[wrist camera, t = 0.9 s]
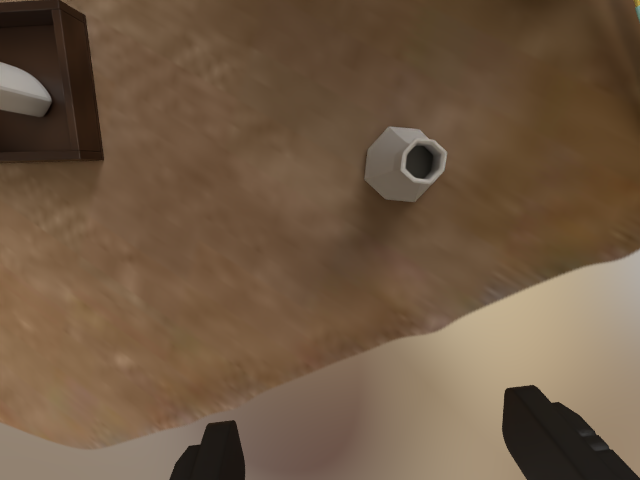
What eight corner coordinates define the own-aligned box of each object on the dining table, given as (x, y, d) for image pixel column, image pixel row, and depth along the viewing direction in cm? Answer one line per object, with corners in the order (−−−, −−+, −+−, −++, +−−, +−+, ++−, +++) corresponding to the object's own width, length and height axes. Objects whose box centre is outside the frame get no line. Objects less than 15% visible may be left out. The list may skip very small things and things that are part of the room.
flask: (351, 184, 35) (354, 188, 26) (383, 113, 34) (399, 89, 24) (418, 213, 35) (446, 229, 26) (452, 145, 34) (496, 133, 24)
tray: (-46, 22, 35) (-86, 7, 32) (85, 15, 34) (58, -2, 31) (-19, 163, 38) (-54, 162, 34) (104, 160, 37) (80, 158, 33)
